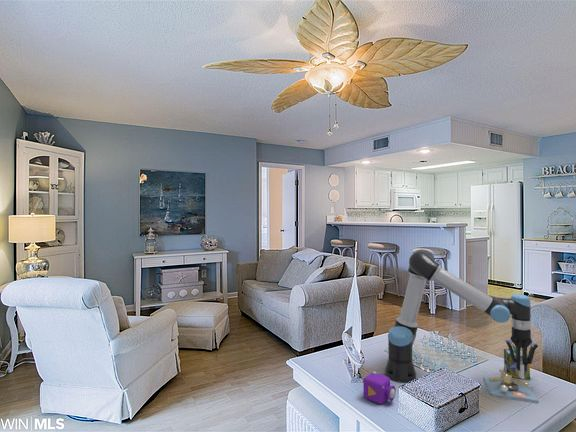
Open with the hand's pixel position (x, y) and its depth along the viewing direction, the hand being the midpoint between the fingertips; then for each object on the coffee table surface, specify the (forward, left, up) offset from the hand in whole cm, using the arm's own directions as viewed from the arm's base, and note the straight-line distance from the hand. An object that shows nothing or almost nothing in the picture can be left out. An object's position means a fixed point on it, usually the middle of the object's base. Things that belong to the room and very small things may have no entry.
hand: (521, 377), depth 160 cm
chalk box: (+1, +13, -5) cm, 14 cm away
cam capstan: (-8, -6, -3) cm, 10 cm away
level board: (-7, -6, -4) cm, 10 cm away
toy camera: (-63, -33, -5) cm, 71 cm away
